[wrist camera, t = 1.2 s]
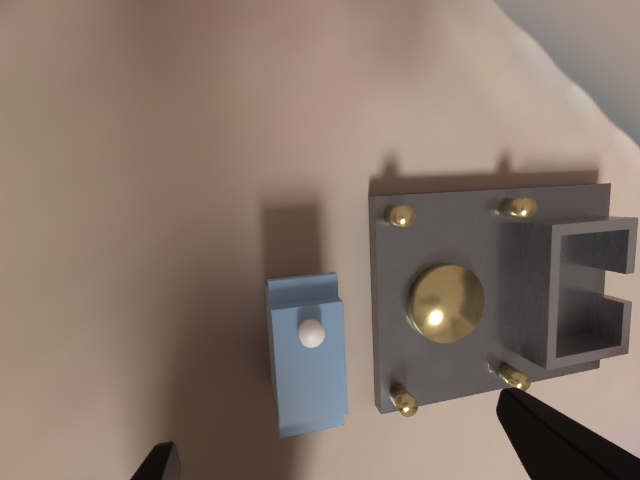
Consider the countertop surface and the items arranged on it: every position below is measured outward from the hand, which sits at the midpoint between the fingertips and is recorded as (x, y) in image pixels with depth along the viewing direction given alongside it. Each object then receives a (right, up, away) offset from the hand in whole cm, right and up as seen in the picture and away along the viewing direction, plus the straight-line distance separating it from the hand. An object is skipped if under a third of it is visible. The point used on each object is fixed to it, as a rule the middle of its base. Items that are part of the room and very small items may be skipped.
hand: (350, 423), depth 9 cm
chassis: (+11, +1, +15) cm, 19 cm away
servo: (-2, -1, +12) cm, 12 cm away
